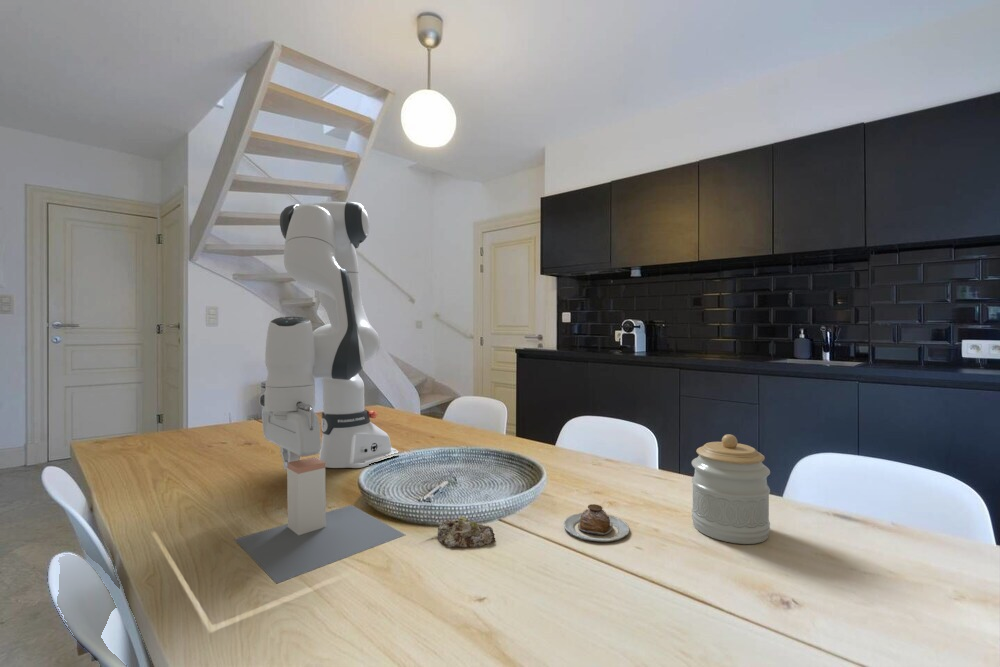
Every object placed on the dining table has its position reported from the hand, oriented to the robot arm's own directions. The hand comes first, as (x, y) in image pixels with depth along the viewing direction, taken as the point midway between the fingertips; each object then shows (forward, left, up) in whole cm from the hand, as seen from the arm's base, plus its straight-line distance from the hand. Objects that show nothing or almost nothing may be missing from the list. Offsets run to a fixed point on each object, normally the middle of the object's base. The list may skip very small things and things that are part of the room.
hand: (290, 470), depth 90 cm
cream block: (0, +7, -9) cm, 11 cm away
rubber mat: (0, +13, -10) cm, 16 cm away
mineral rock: (-19, +30, -10) cm, 37 cm away
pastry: (-38, +45, -11) cm, 60 cm away
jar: (-55, +63, -10) cm, 84 cm away
